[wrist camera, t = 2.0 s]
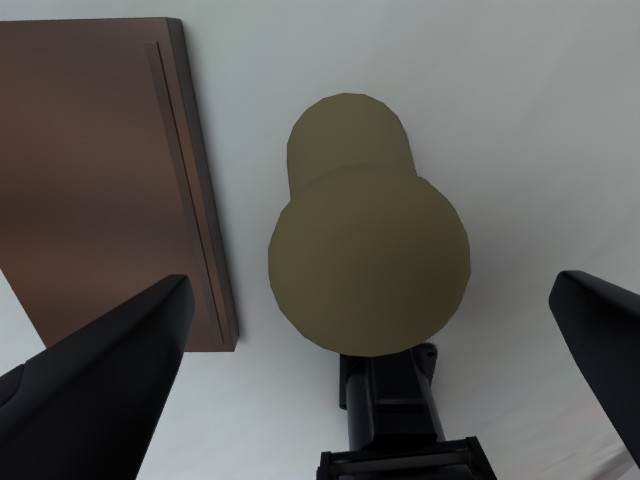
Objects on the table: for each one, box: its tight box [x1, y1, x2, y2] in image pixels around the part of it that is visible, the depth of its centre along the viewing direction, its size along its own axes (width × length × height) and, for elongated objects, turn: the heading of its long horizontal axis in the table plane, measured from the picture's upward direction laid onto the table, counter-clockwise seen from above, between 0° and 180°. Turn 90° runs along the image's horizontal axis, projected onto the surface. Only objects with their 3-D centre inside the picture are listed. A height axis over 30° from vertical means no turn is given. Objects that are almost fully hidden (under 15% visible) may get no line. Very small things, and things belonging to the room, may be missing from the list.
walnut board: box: [0, 17, 239, 352], centre depth 18 cm, size 18×12×2 cm, turn 1°
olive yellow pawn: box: [268, 93, 471, 357], centre depth 13 cm, size 6×6×11 cm
